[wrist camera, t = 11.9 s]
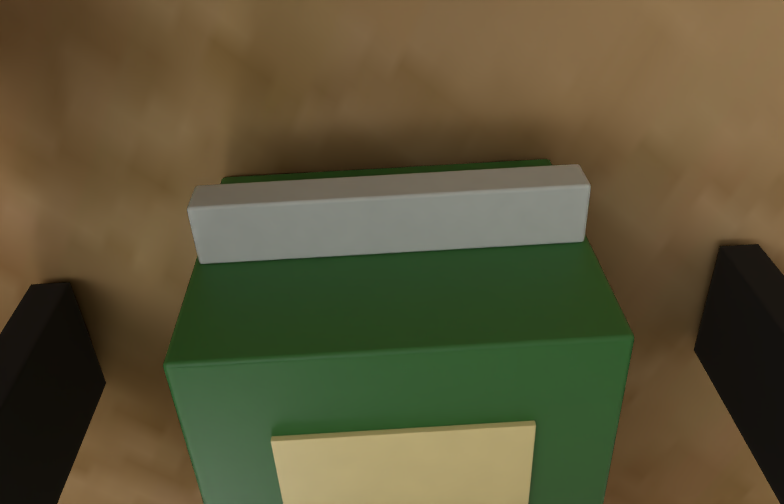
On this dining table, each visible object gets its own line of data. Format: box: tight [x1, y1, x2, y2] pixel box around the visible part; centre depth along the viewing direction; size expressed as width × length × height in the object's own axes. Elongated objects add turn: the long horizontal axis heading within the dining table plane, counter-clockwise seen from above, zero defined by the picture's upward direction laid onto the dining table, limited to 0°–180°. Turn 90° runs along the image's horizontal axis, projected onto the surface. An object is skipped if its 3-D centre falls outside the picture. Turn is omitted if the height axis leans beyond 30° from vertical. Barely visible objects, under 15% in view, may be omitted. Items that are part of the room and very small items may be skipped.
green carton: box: [163, 159, 634, 504], centre depth 13 cm, size 9×6×5 cm
